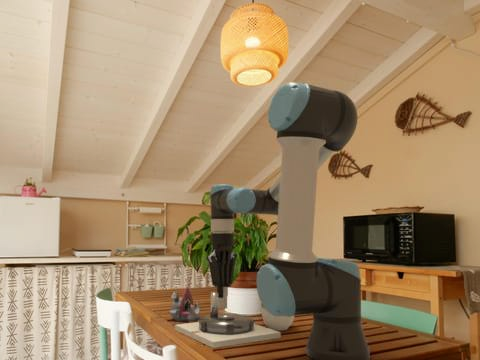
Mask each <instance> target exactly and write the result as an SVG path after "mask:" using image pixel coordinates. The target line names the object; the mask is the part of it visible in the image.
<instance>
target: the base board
mask: <svg viewBox="0 0 480 360" xmlns="http://www.w3.org/2000/svg"><path fill="white" fill-rule="evenodd" d="M174 330H175V331H176V332H178V333H181V334H183V335H185V336H187V337H189V338H191V339H193V340H194V341H195V340H196V341H197V342H199V343H202V344H203V345H206V346H207V347H210V348H212V349H217V348H223V347H231V346H236V345H242V344H249V343H250V344H251V343H256V342H261V341H262V342H263V341H268V340H270V341H271V340H275V339H281V336H282V335H281V332H280V331H277V330H272V329H269V328H268V327H265V326H262V325H259V324H255V323H254V329H253V330H252V331H247V332H243V333H234V334H220V333H210V332H204V331H201V330H200V329H199V321H197V322H195V321H193V322H188V323H178V324H174Z"/></svg>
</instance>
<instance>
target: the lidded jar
mask: <svg viewBox="0 0 480 360" xmlns="http://www.w3.org/2000/svg"><path fill="white" fill-rule="evenodd" d="M260 305H261V306H260V307H261V317H262V319H263V323H264V324H265V325H266V327H267V328H269V329H272V330H275V331H278V332H280V331H288V329H289V328H290V327H291V325H292V324H293V323H294V319H295V316H291V317H287V316H274V315H272V314H270V313H269V312H268V311H267V310H266V309H265V308H264V306H263V305H262V303H260Z"/></svg>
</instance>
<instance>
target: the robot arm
mask: <svg viewBox="0 0 480 360" xmlns="http://www.w3.org/2000/svg"><path fill="white" fill-rule="evenodd" d="M357 110H358V109H357V107H356V105H355V103H354V102H353V100H352V99H351V98H350V97H349V96H348V94H346V93H343V92H342V91H338V90H332V89H330V88H329V89H328V88H323V87H320V86H316V85H314V84H313V85H312V84H308V83H306V82H296V81H291V82H290V81H288V82H287V83H284V84H283V85H281V87H280V88H279V89H277V91H276V93H275V94H273V97H272V99H271V102H270V104H269V108H268V112H267V120H268V123H269V126H270V128H271V129H272V130H274V131H275V132H276V141H277V143H278V144H279V145H280V147H282V148H281V149H282V150H281V151H282V152H281V164H280V166H281V167H280V174H278V176H277V178H275V180H274V181H273V182H272V183H271V185H270V186H269V187H268V188H267V190H263V189H250V188H249V187H242V186H237V187H235V188H234V186H233V185H232V184H227V183H226V184H225V183H223V184H221V183H219V184H213V185H212V186H211V188H210V195H209V197H210V232H211V234H210V245H212V249H211V253H210V254H209V255H206V260H207V262H208V267H209V271H210V272H209V273H210V278H211V279H210V280H211V284H212V286H214V287H215V288H217V289H216V292H219V293H218V309H225V310H226V309H228V295H229V294H228V293H229V290H228V287H229V288H231V285H232V283H233V280H234V273H235V265H236V261H237V257H238V254H237V253H234V252H233V248H232V245H234V244H235V234H234V232H235V214H252V215H269V216H270V215H272V216H277V219H276V220H277V223H276V236H275V247H274V249H273V250H272V251H271V252H270V253H269V254H268V257H267V263H266V264H264V265H262V266H261V267H260V268H259V270H258V272H257V274H256V290H257V294H258V298H259V300H260V302H261V303H262V305H263V306H264V308H265V309H266V310H267V311H268V312H269V313H270V314H272V315H274V316H287V317H291V316H294V317H295V316H304V315H312V325H311V327H310V332H309V336H308V340H307V341H306V344H305V347H306V349H305V353H306V356H307V357H309V358H311V359H313V360H370V359H371V355H370V352H371V351H370V347H369V344H368V343H367V340H366V334H365V331H364V329H363V325H362V302H361V301H362V290H361V289H362V285H361V283H362V278H361V272H360V266H359V265H358V264H357V263H356V262H353V261H348V260H340V259H334V258H323V257H317V256H316V255H315V253H314V251H313V246H314V245H313V244H314V241H313V240H314V230H315V228H314V227H315V215H316V201H317V199H316V198H317V183H318V171H319V169H320V168H321V167H322V166H323V165H324V164H325V163H326V162H327V161H328V160H329V158H331V156H332V155H333V154H334V153H339V152H340V151H342V150H343V149H344V148H345V147H347V144H348V143H349V142H350V141H351V139H352V138H353V136H354V134H355V131H356V130H357V127H358V119H359V118H358V111H357ZM261 303H260V304H261Z"/></svg>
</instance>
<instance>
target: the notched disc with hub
mask: <svg viewBox="0 0 480 360" xmlns="http://www.w3.org/2000/svg"><path fill="white" fill-rule="evenodd" d="M218 293H219V292H217V291H211V292H210V308H209V309H210V310H209V311H210V312H209V314H208V315H202V316H201V315H200V316H199V318H198V322H199V329H200V330H201V331H204V332H210V333H220V334H234V333H243V332H247V331H252V330H253V329H254V324H255V321H254V319H253V318H252V316H249V315H246V314H244V315H243V314H236V313H235V314H234V313H230V312H229V313H228V312H227V313H226V312H221V313H219V308H218Z"/></svg>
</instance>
